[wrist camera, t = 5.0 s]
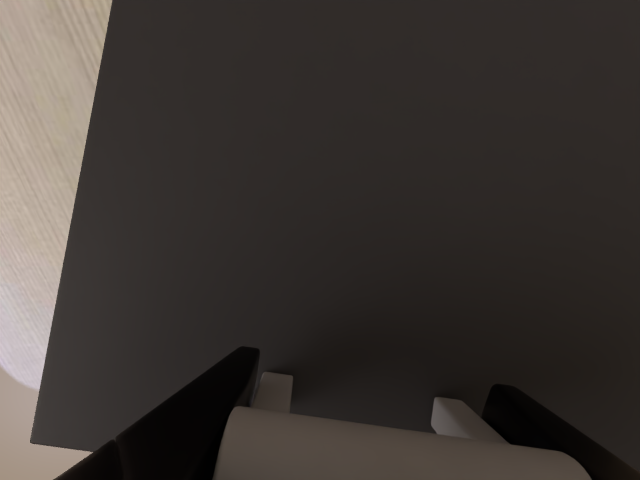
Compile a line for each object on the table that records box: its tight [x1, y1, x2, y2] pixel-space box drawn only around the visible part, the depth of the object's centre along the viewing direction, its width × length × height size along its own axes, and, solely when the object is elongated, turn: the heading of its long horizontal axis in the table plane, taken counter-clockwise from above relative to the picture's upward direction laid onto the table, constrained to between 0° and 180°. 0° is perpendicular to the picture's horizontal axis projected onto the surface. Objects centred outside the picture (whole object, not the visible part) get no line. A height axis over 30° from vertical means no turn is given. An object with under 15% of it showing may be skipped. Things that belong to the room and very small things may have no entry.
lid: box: [30, 0, 640, 480], centre depth 8 cm, size 13×15×5 cm
